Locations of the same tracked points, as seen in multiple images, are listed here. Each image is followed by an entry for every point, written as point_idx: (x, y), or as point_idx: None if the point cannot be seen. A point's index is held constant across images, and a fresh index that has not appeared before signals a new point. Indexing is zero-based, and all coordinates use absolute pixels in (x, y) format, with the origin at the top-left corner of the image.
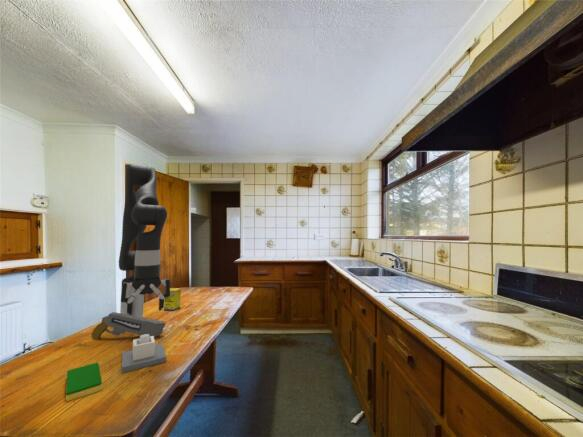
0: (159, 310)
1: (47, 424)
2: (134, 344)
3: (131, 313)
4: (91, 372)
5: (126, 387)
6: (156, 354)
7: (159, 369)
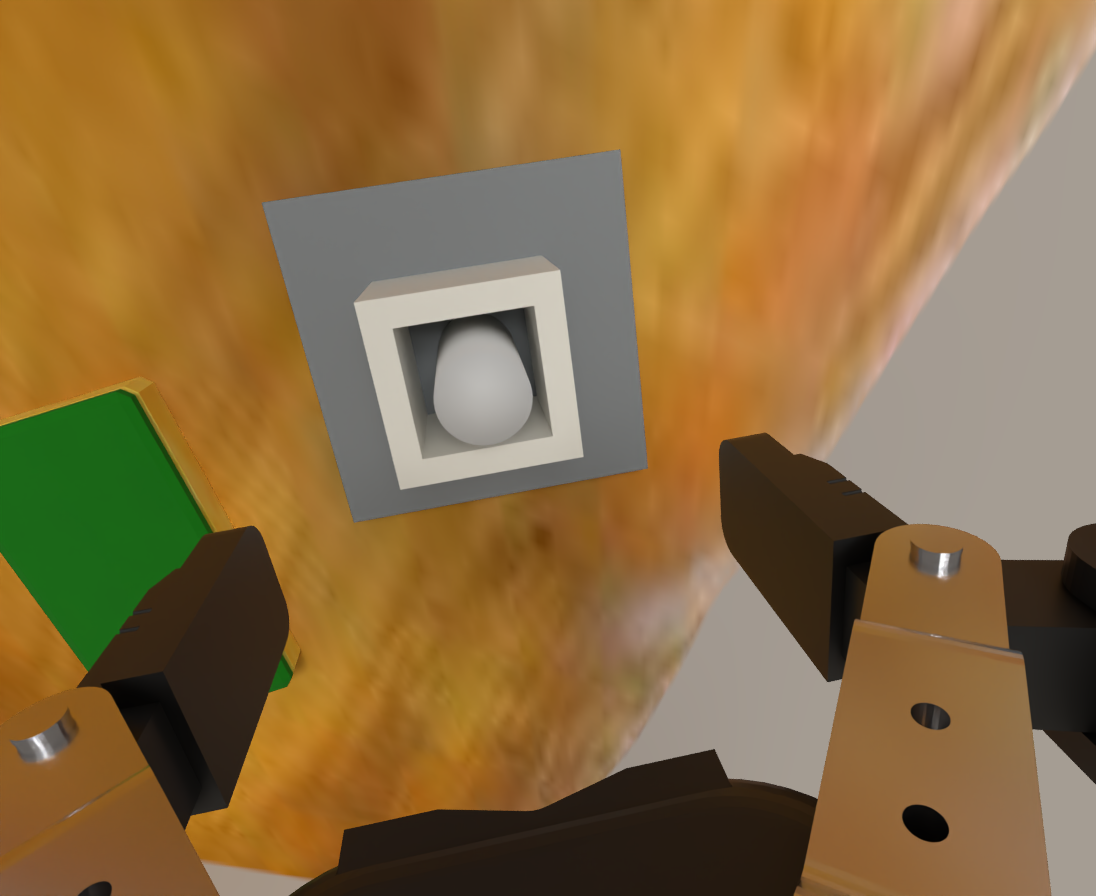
0: (727, 527)
1: None
2: (399, 448)
3: (277, 639)
4: (159, 550)
5: (434, 670)
6: (576, 396)
7: (595, 541)
